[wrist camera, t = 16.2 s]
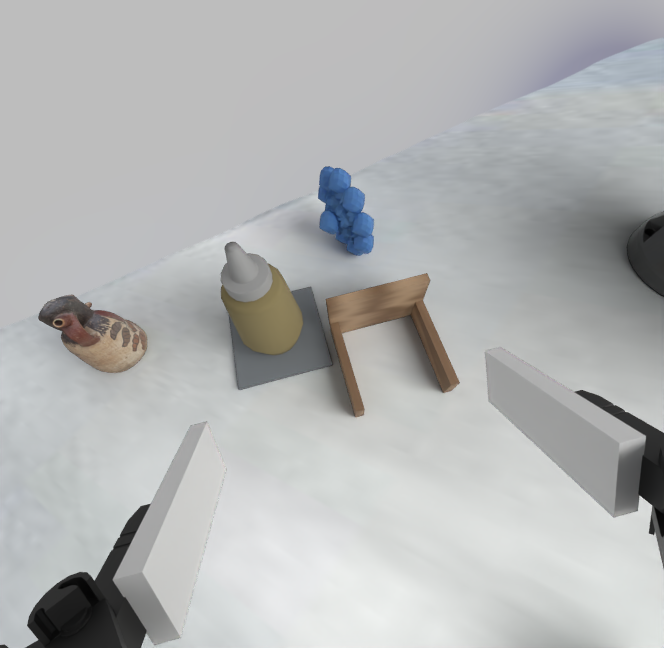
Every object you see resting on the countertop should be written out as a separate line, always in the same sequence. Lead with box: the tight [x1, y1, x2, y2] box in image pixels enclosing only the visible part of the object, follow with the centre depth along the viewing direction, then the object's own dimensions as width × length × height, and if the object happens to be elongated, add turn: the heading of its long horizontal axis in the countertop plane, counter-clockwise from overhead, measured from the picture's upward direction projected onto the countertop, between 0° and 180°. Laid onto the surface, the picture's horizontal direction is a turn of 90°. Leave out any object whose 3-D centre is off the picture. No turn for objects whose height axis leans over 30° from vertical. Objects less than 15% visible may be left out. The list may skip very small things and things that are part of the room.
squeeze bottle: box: [221, 242, 303, 355], centre depth 35 cm, size 8×8×18 cm
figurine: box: [38, 295, 147, 373], centre depth 39 cm, size 7×7×12 cm
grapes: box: [318, 166, 374, 256], centre depth 45 cm, size 12×7×12 cm, turn 34°
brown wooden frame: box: [326, 273, 460, 417], centre depth 38 cm, size 12×12×8 cm
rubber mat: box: [229, 287, 332, 390], centre depth 44 cm, size 12×12×1 cm
